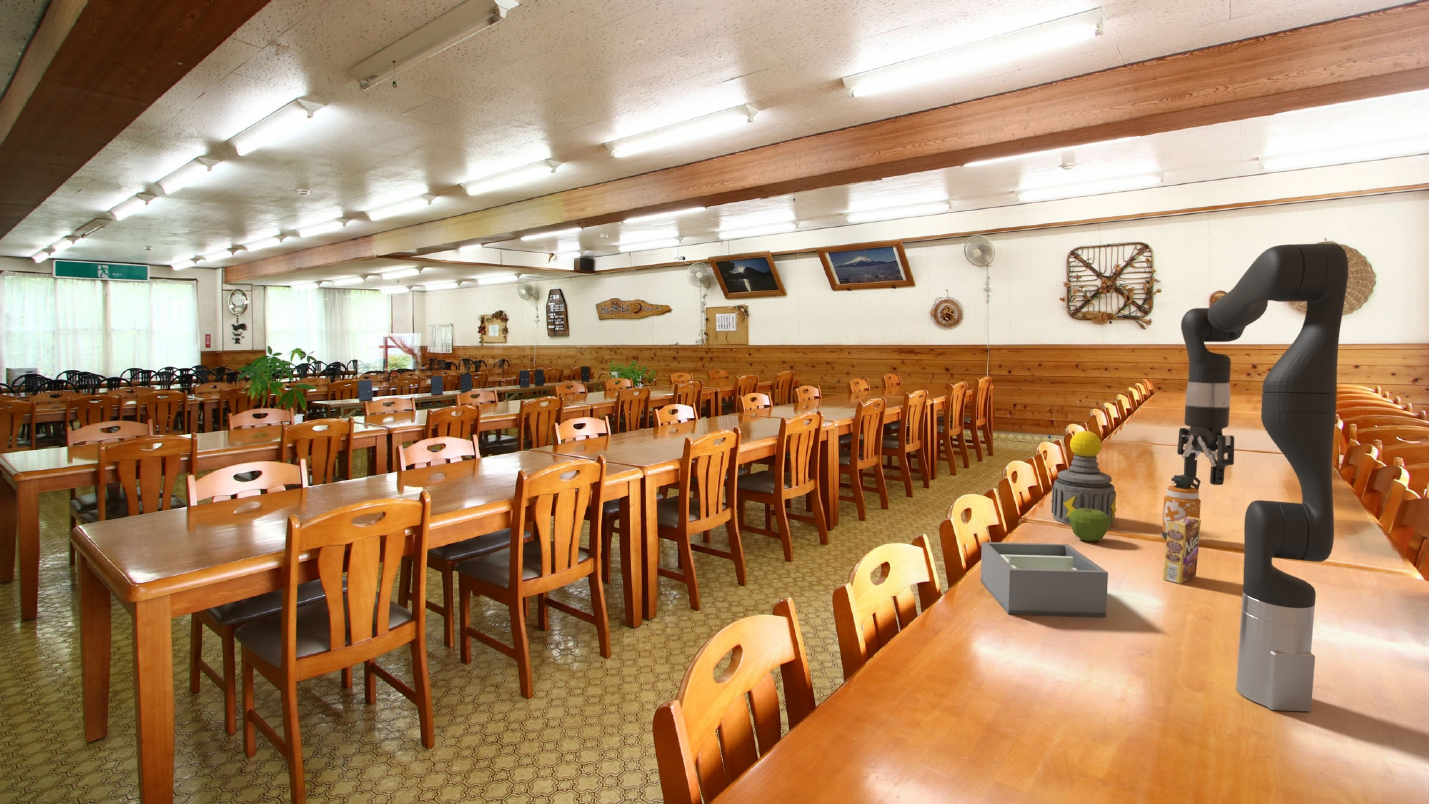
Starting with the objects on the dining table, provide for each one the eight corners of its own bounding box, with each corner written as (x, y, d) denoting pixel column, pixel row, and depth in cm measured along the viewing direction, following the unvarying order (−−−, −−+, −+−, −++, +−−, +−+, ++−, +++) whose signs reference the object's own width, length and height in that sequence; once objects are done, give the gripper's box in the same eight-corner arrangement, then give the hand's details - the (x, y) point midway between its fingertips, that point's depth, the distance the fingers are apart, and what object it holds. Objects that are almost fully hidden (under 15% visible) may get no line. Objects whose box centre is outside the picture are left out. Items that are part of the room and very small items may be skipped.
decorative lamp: (1064, 510, 237) (1068, 425, 234) (1124, 521, 223) (1128, 431, 220) (1040, 519, 225) (1044, 430, 222) (1101, 532, 211) (1106, 436, 208)
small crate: (1084, 606, 150) (1086, 567, 149) (1018, 604, 151) (1020, 565, 150) (1058, 584, 163) (1060, 547, 163) (998, 582, 165) (999, 546, 164)
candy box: (1181, 585, 165) (1185, 524, 164) (1162, 580, 169) (1165, 520, 167) (1197, 577, 170) (1201, 518, 169) (1178, 573, 174) (1182, 514, 172)
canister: (1155, 538, 204) (1158, 472, 202) (1177, 533, 209) (1181, 469, 207) (1186, 546, 196) (1190, 478, 194) (1209, 541, 201) (1213, 474, 199)
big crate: (1105, 617, 146) (1108, 572, 145) (1008, 614, 148) (1009, 569, 147) (1065, 583, 166) (1067, 544, 166) (980, 581, 168) (981, 542, 167)
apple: (1072, 544, 198) (1073, 510, 198) (1064, 534, 209) (1066, 502, 208) (1113, 547, 195) (1115, 513, 194) (1104, 537, 205) (1105, 504, 204)
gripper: (1250, 407, 134) (1245, 487, 135) (1203, 401, 148) (1199, 474, 149) (1211, 407, 134) (1206, 487, 136) (1168, 401, 149) (1164, 474, 150)
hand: (1202, 480), depth 143 cm, fingers open, 8 cm apart
